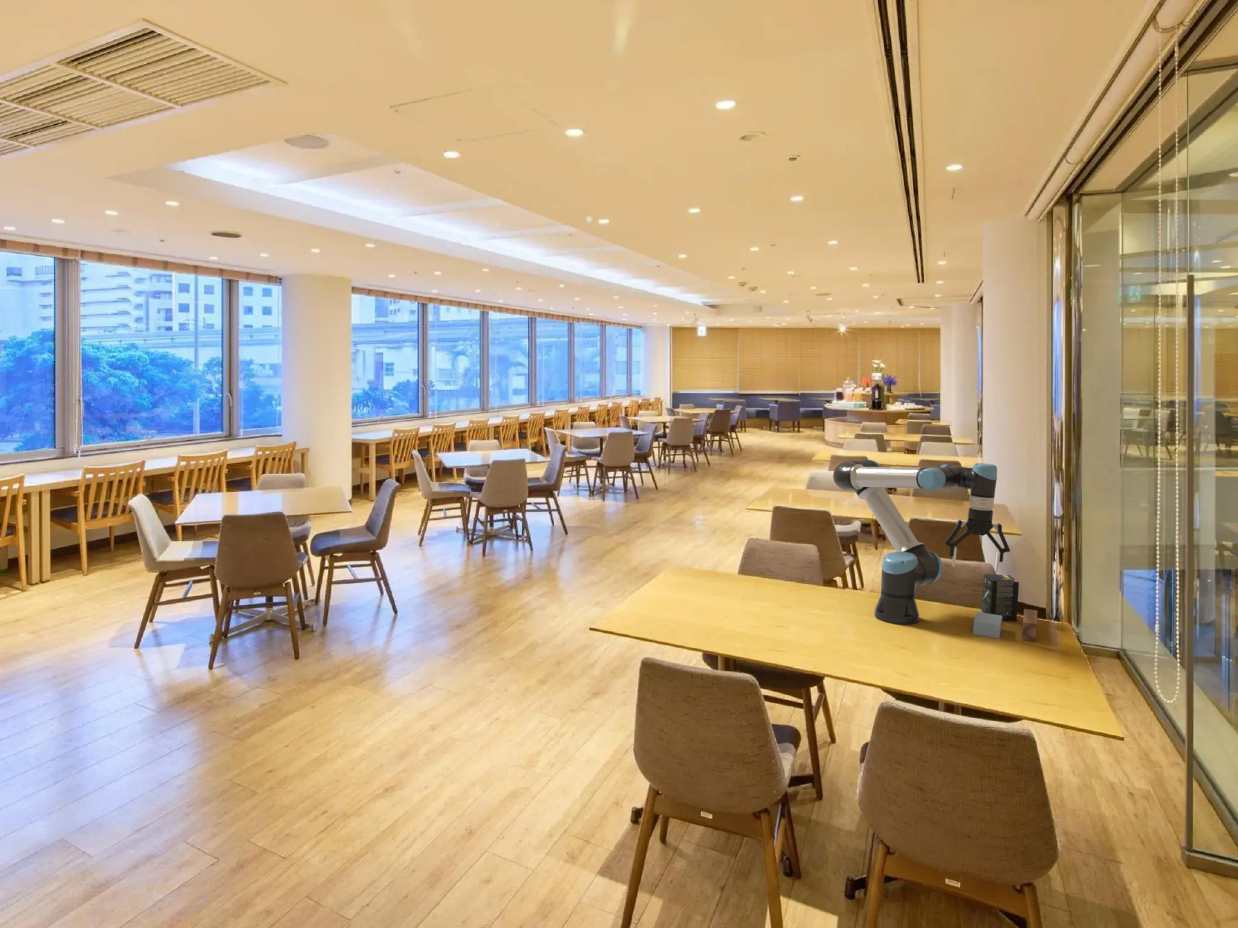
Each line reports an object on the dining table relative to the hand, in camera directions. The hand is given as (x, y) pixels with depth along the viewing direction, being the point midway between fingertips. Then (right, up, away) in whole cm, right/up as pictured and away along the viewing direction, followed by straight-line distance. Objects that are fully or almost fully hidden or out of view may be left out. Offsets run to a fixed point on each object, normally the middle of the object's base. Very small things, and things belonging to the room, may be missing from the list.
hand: (974, 568), depth 255 cm
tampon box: (+17, -20, +16) cm, 30 cm away
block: (+3, -22, -3) cm, 22 cm away
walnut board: (+17, -22, -4) cm, 28 cm away
